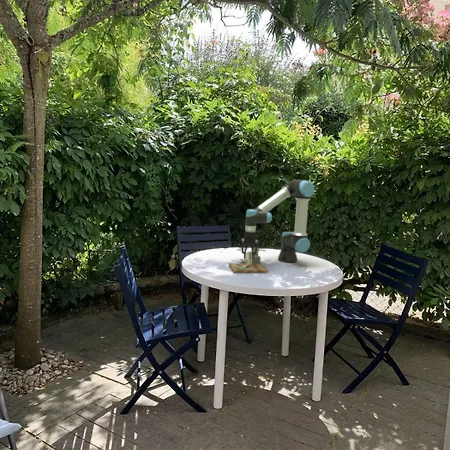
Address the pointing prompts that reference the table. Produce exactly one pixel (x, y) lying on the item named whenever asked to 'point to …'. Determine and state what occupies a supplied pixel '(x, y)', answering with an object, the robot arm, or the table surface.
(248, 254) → the cream pointer block
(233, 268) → the tuner board
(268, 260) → the table surface
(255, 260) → the camera
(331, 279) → the table surface
